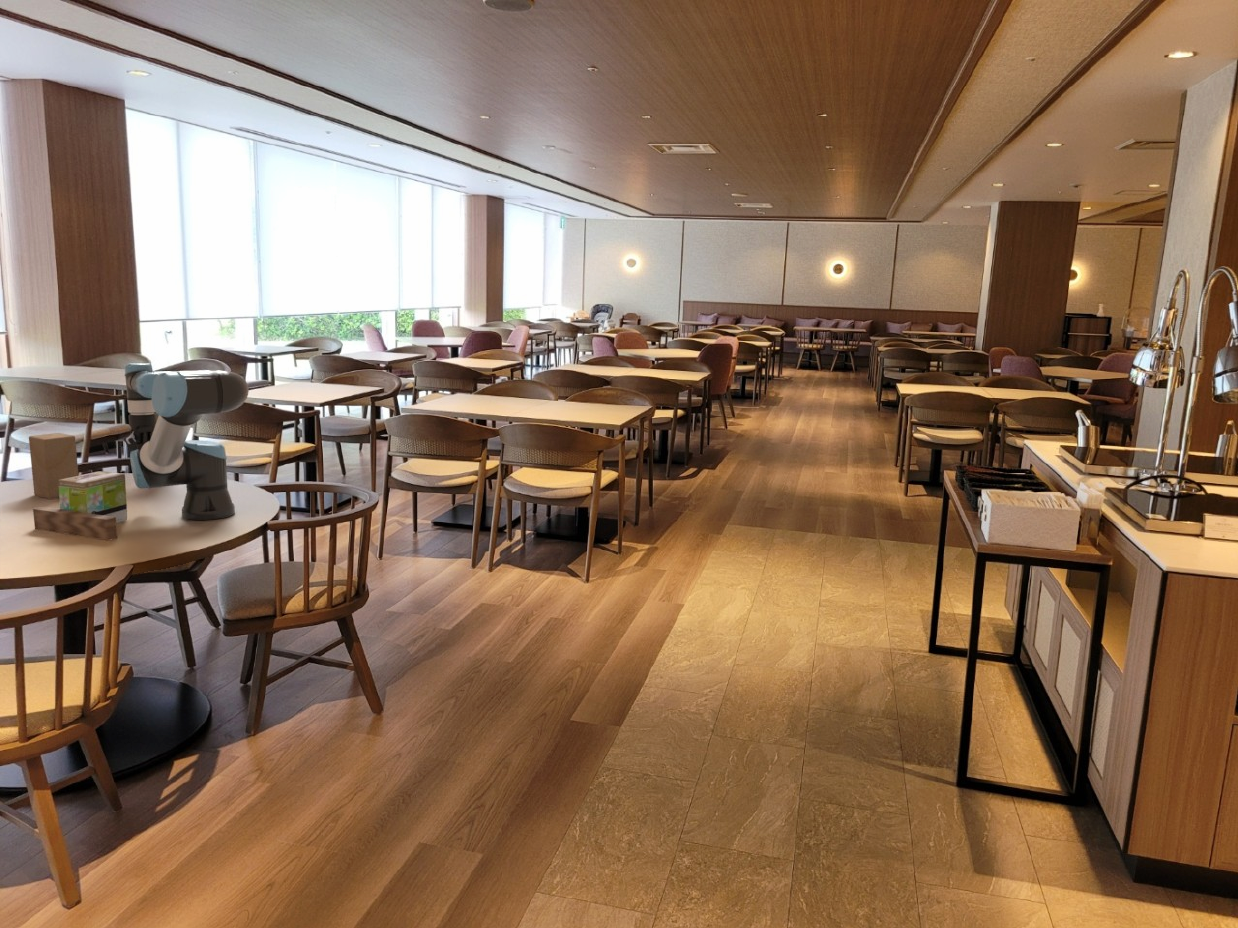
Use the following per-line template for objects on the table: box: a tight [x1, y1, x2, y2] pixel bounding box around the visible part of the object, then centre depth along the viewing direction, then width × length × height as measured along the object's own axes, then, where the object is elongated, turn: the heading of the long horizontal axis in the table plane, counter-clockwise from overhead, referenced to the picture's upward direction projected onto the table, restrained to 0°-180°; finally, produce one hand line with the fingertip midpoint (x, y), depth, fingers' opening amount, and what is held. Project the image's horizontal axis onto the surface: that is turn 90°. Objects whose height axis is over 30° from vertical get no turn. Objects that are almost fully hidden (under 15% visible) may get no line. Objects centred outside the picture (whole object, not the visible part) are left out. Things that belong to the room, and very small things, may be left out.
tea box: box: [59, 470, 128, 524], centre depth 266 cm, size 15×10×15 cm, turn 166°
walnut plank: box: [32, 506, 118, 541], centre depth 257 cm, size 28×3×6 cm, turn 70°
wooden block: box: [28, 432, 80, 500], centre depth 300 cm, size 10×10×20 cm
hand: (147, 487), depth 283 cm, fingers closed
